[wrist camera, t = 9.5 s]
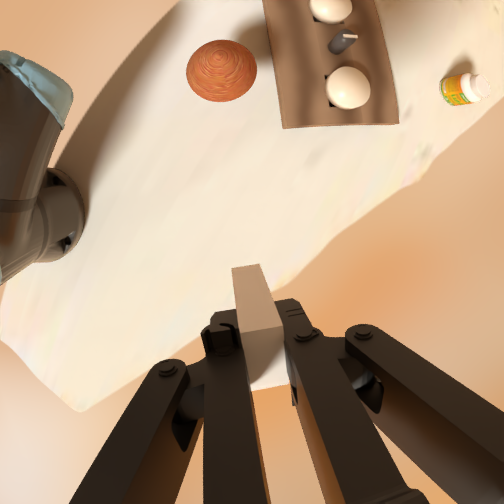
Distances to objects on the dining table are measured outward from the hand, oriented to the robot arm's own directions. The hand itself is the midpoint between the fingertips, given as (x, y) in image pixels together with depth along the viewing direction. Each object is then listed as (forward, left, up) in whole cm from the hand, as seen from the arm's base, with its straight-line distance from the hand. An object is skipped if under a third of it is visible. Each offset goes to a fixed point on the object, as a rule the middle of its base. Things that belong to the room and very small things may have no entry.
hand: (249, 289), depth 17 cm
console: (+18, +23, -29) cm, 41 cm away
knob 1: (+18, +30, -29) cm, 45 cm away
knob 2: (+18, +16, -29) cm, 37 cm away
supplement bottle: (+42, +18, -30) cm, 54 cm away
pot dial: (+18, +23, -26) cm, 39 cm away
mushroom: (+1, +18, -30) cm, 34 cm away
